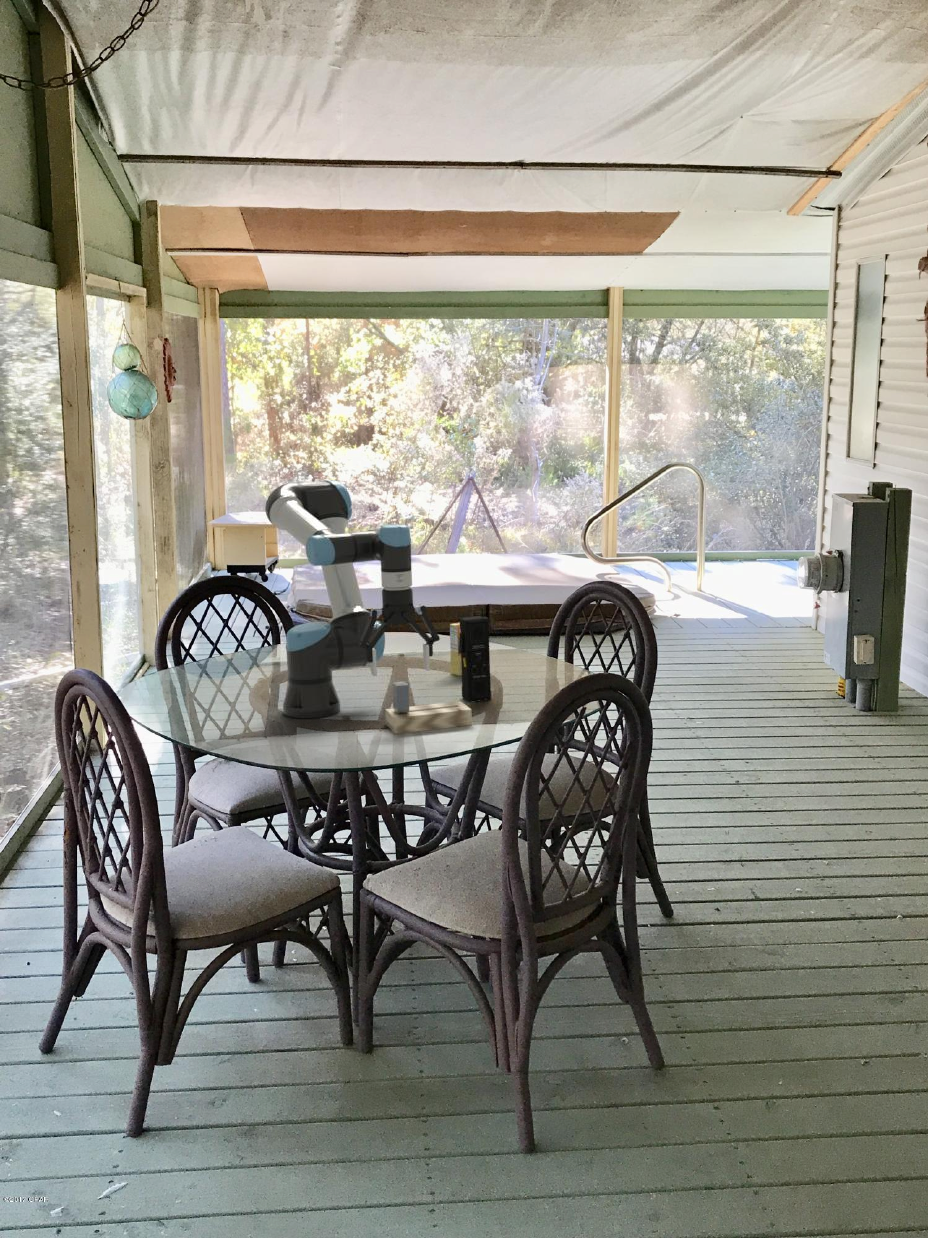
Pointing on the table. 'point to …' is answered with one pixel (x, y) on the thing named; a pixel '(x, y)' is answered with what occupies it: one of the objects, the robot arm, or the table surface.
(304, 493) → the robot arm
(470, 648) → the portable radio
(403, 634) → the table surface
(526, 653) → the table surface
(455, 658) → the candy box
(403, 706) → the blue-grey rectangular block
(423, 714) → the wooden block with slot
